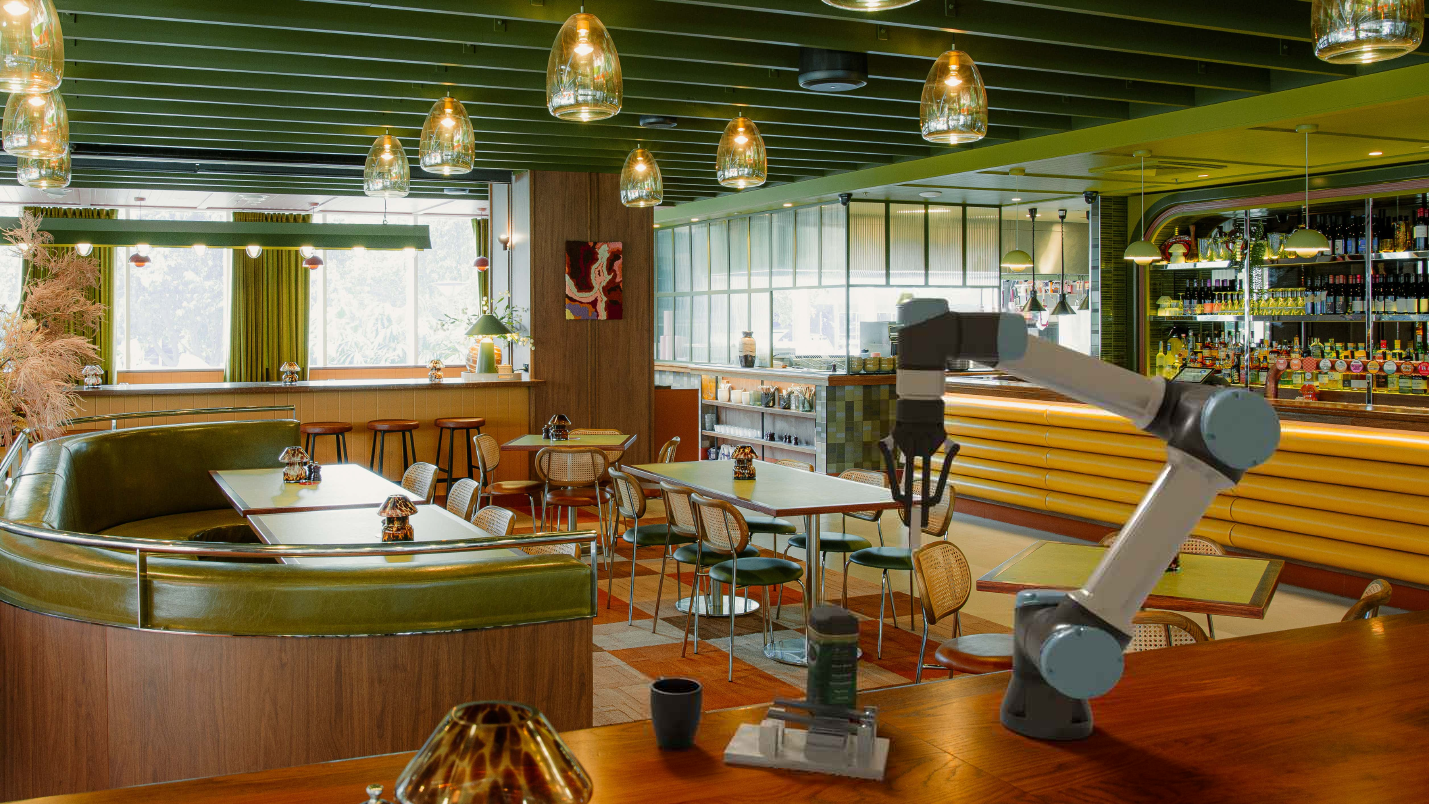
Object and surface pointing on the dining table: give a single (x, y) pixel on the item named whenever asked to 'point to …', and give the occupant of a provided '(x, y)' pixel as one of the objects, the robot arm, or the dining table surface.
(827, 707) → the inner strap
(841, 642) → the coffee jar
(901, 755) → the dining table surface
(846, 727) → the outer strap
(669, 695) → the mug
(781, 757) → the board
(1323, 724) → the dining table surface
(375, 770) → the dining table surface
